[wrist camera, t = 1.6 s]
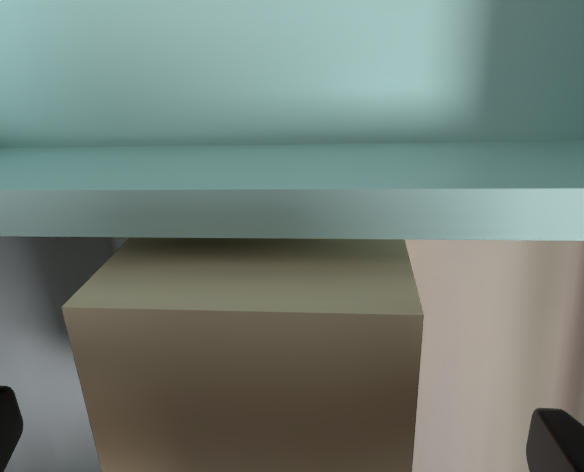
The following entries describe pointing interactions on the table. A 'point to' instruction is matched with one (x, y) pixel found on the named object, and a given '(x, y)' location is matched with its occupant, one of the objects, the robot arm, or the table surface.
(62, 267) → the table surface
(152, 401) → the cube
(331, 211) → the tote
